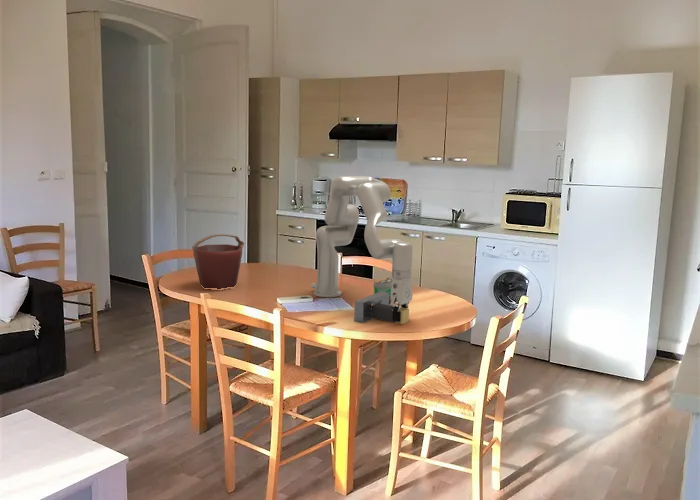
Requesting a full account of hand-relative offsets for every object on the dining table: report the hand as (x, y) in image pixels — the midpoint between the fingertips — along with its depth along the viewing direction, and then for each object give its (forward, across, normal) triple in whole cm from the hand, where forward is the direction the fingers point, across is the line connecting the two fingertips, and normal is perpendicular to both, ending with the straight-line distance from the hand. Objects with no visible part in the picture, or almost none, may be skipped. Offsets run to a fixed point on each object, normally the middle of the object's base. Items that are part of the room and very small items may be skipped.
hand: (399, 319), depth 241 cm
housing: (+1, 0, +13) cm, 13 cm away
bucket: (+1, 0, +97) cm, 97 cm away
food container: (+1, +22, +19) cm, 29 cm away
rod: (+1, 0, +4) cm, 5 cm away
